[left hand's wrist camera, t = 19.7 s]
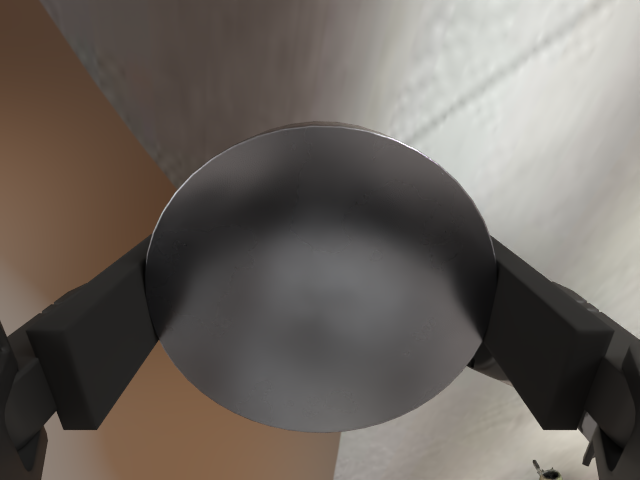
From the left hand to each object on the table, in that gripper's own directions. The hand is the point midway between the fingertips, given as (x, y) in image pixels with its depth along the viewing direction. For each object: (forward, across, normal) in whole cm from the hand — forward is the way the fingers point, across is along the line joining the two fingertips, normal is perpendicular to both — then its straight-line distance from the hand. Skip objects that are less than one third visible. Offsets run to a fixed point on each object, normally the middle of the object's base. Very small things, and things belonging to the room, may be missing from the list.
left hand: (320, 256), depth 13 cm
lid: (-3, 0, 0) cm, 3 cm away
